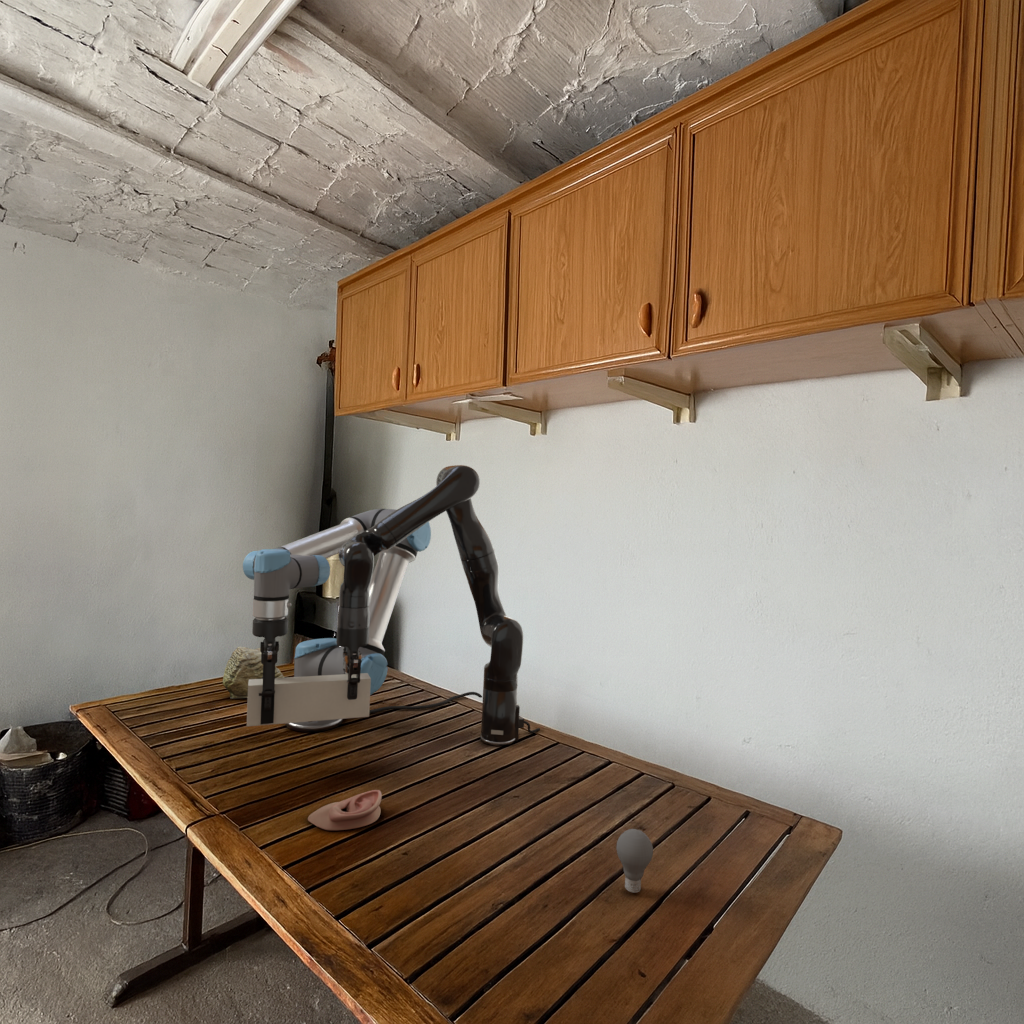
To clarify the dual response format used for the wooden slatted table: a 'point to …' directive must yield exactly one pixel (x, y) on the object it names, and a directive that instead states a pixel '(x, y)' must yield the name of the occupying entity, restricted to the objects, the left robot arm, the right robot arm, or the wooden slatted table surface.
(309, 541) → the left robot arm
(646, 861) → the light bulb
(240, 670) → the fossil
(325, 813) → the anatomical model
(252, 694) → the bar
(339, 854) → the wooden slatted table surface
